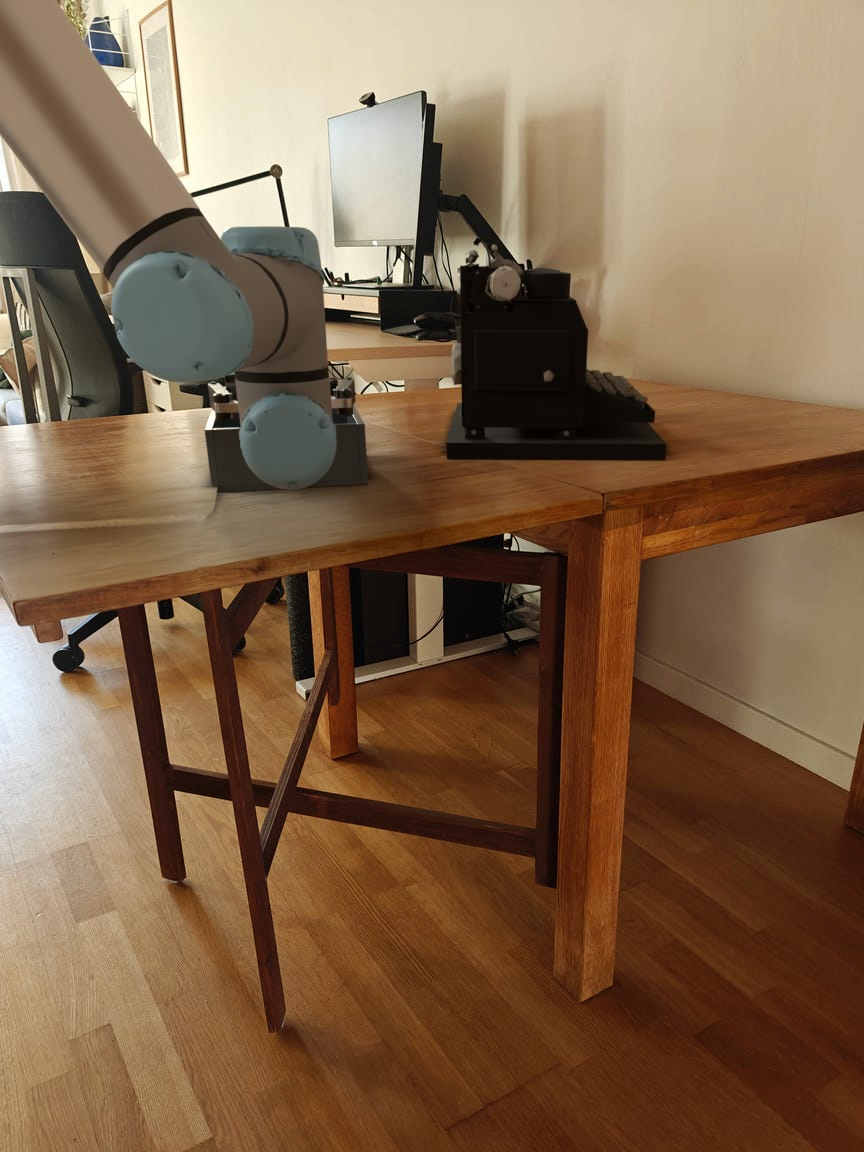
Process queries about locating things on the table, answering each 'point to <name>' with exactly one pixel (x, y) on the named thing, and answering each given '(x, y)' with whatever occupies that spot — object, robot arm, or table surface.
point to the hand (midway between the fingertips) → (282, 383)
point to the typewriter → (536, 375)
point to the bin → (237, 476)
